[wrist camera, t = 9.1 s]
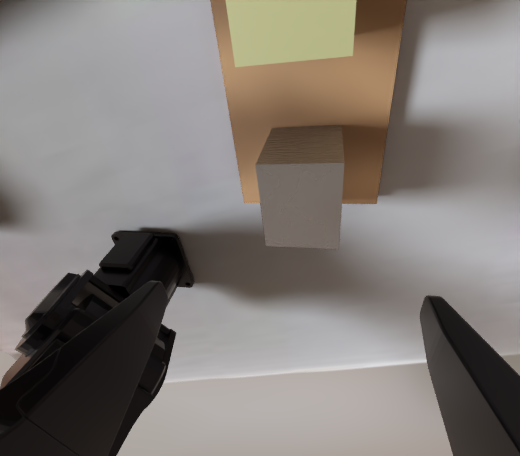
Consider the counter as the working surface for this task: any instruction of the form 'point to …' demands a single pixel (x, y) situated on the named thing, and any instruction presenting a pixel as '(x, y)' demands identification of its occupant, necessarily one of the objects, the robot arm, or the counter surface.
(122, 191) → the counter surface
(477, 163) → the counter surface
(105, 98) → the counter surface
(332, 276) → the counter surface
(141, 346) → the robot arm
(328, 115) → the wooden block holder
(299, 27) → the pale yellow block
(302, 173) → the grey cube-like block
